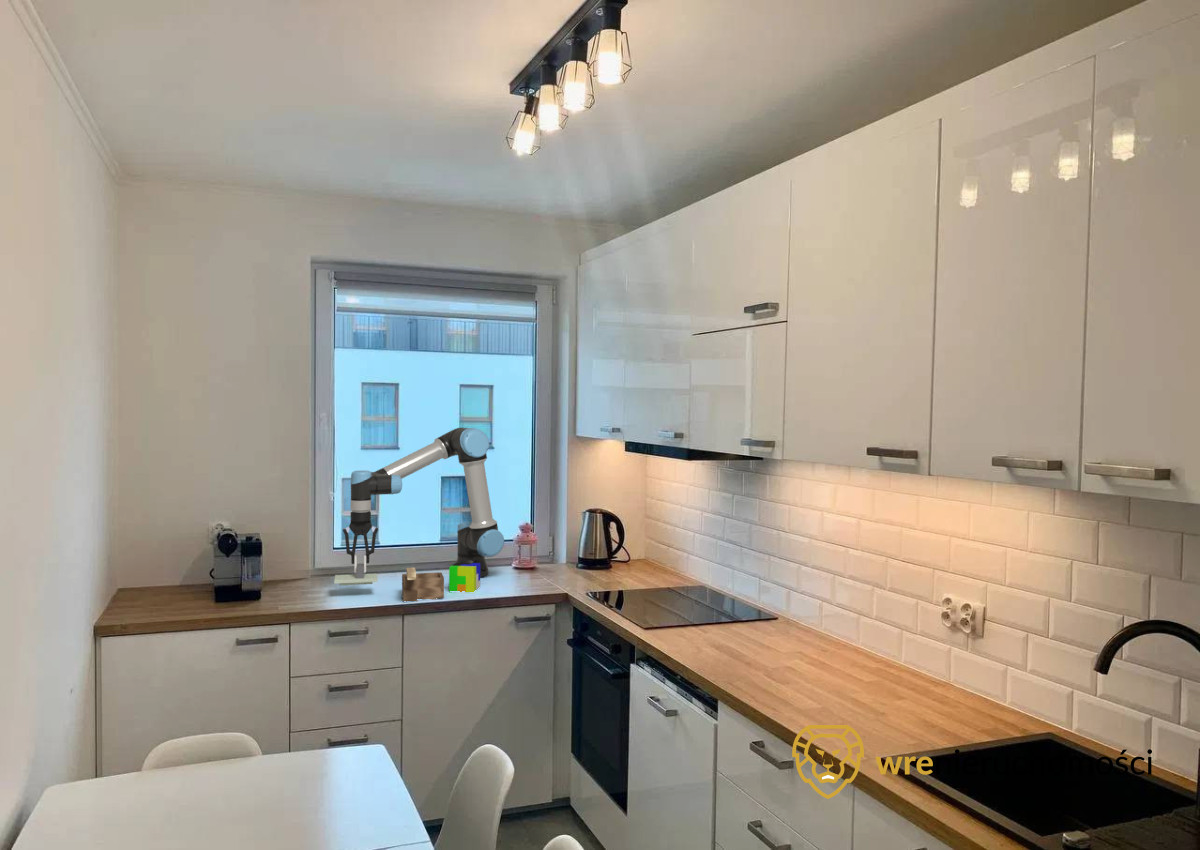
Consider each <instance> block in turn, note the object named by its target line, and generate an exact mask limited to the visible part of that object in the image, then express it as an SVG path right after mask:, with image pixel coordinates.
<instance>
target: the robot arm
mask: <svg viewBox="0 0 1200 850" xmlns="http://www.w3.org/2000/svg"><path fill="white" fill-rule="evenodd" d="M489 448H490V439H489V437H488V435H487V434H486V433H485V432H484V431H483V430H481V429H479V428H475V427H456V428H454V429H452V430H450V431H448V432H446V433H443V434H442V435H440V436H438V437H437V438H435V439H434V441H433V442H432V443H430V444H427V445H425V446H423V447H422V448H420V449H418V450H416V451H413V452H412V453H409V454H408V455H406V456H404V457H402V458H400V459H398V460H395V461H393V462H392V463H390V464H388V465H385V466H384V467H382V468H380V469H377V470H376V471H370V470H354V471H352V472H351V475H350V511H351V512H350V523H349V525H348V526H347V527H343V528H342V532H343V535H344V539H345V550H346V554H347V555H350V556H351V564H352V565H354V571H353V572H354V574H356V567H357V564H358V561H357V560H358V559H357V554H356V550H357V543H358V536H363V540H364V541H363V542H364V548H365V549H364V551H365V554H364V555H363V558H364V559H363V564H364V574H367V573H366V572H367V564H369V563H370V556H371V554H374V553H375V549H376V548H375V547H376V539H377V533H378V531H379V527H377V526H374V525H373V524H372V512H371V510H372V496H375V495H376V496H379V495H396V494H397V495H398V494H400V493H401V492H402V490H403V489H402V488H403V479H404V478H406V477H408V476H410V475H412V474H414V473H417V471H418V472H419V471H420V470H422V469H423V468H426V467H428V466H430V465H432V464H433V463H436V462H438V461H440V460H441V459H443V460H447V459H449V458H451V457H455V456H457V458H458V459H457V460H458V463H459V464H460V465H461V466H463V472H464V478H465V479H464V480H465V484H466V485H465V486H466V491H467V497H468V503H469V509H470V515H471V522H461V523H458V525H457V532H456V533H457V557H456V561H455V563H480V577H481V578H483V577H482V576H486V577H488V576H489V575H488V574H489V573H490V572H489V566H488V564H487V561H486V558H491V557H494V556H496V555H499V553H500V552H501V551H502V549H503V548H504V545H505V538H504V535H503V533H502V532H501V531H500V530H499V526H498V522H497V520H495V518H494V517H493V512H492V505H491V499H490V493H489V487H488V480H487V475H486V474H487V473H486V467H485V462H486V461H487V459H488V457H487V452H488V451H489ZM350 530H351V532H352V533H353V535H354V536H353V542H352V549H350V537H349V533H350ZM370 530H371V532H372V535H371V536H372V537H371V549H369V541H368V533H369V532H370ZM485 557H486V558H485ZM487 575H488V576H487Z"/></svg>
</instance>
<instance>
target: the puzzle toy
mask: <svg viewBox="0 0 1200 850" xmlns="http://www.w3.org/2000/svg"><path fill="white" fill-rule="evenodd" d="M448 569H449V570H448V576H449V577H448V582H449V583H448V592H449V591H460V592H462V591H465V592H474V591H475V590H477V589H478V588H479V587H480V588H481V578H480V563H456V562H455V563H453V564H452V565H450V566H449V568H448ZM480 588H479V589H480ZM479 589H478V590H479ZM478 590H477V591H478Z"/></svg>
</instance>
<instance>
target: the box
mask: <svg viewBox="0 0 1200 850" xmlns="http://www.w3.org/2000/svg"><path fill="white" fill-rule="evenodd" d="M401 596H403V597H402V601H403V602H404V601H417V602H418V600H417V599H431V600H439V599H438V598H444V599H445V576H444V574H443V572H420V573H419V572H418V573H417V572H416V580H407V576H406V573H401ZM436 598H437V599H436Z"/></svg>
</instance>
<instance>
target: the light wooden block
mask: <svg viewBox="0 0 1200 850" xmlns="http://www.w3.org/2000/svg"><path fill="white" fill-rule="evenodd" d="M405 569H406V573H405V574H406V576H407V580H416V573H417V570H416V567H406V568H405Z"/></svg>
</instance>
